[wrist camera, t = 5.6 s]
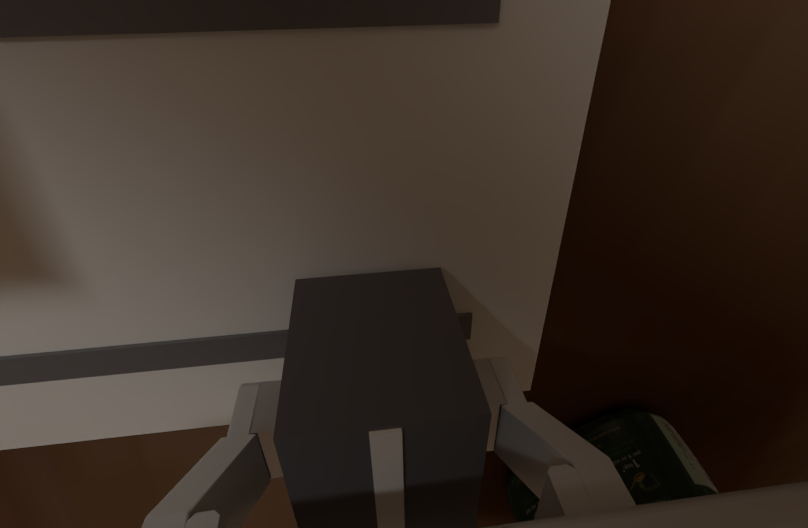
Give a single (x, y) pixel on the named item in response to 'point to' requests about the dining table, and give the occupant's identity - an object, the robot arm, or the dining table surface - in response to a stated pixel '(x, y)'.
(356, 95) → the console
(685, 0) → the dining table surface
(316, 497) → the fader
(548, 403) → the dining table surface
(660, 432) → the coffee jar
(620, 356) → the dining table surface
